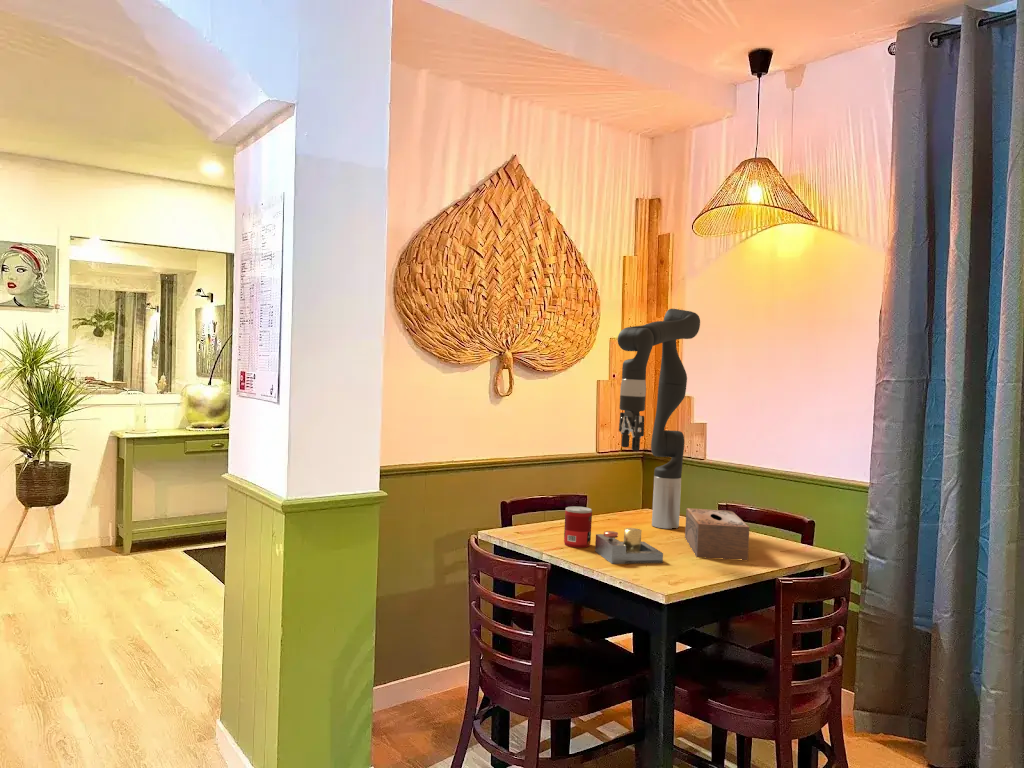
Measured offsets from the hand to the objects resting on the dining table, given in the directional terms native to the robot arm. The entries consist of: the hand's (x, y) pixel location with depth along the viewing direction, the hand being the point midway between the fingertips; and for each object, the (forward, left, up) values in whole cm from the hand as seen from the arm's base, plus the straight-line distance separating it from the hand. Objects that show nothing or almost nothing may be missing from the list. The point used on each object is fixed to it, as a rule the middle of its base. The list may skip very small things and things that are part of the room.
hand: (630, 448), depth 229 cm
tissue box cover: (+2, +28, -30) cm, 41 cm away
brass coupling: (+11, -2, -29) cm, 31 cm away
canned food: (-4, -14, -30) cm, 33 cm away
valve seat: (+11, -3, -30) cm, 32 cm away
